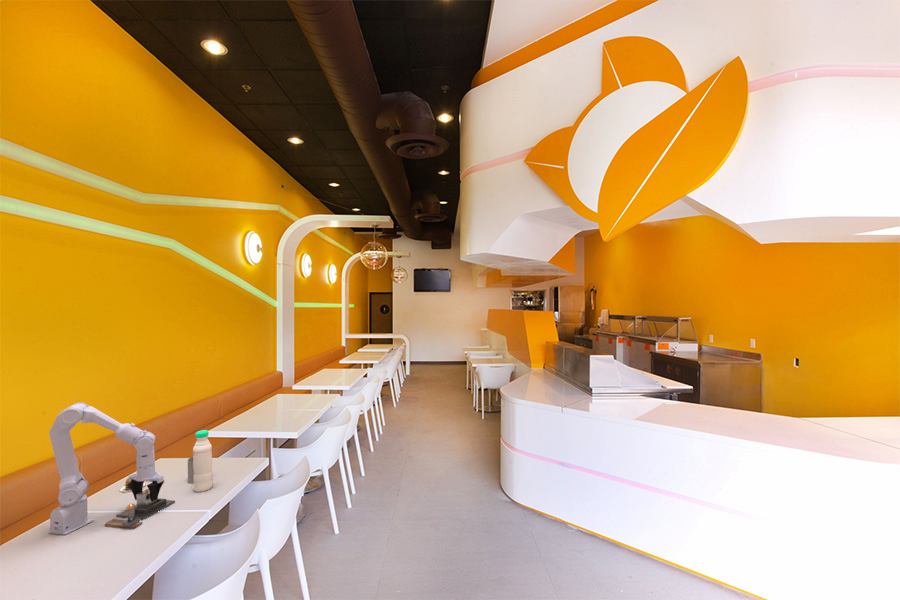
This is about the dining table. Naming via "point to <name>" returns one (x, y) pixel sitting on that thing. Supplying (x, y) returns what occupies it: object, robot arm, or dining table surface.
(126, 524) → the lever
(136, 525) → the rail
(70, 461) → the robot arm
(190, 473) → the cup
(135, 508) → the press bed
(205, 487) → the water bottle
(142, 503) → the block
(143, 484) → the burger on plate
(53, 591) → the dining table surface
